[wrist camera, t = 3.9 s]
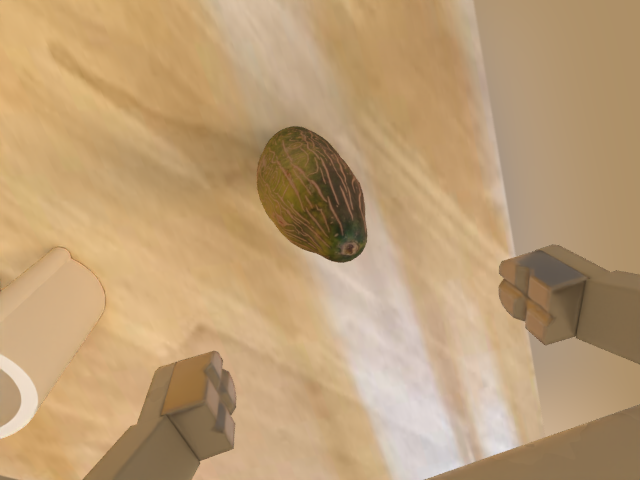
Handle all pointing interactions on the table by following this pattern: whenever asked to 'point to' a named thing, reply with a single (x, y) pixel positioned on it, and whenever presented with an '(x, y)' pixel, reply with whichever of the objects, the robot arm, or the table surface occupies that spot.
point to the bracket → (42, 331)
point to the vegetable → (312, 195)
